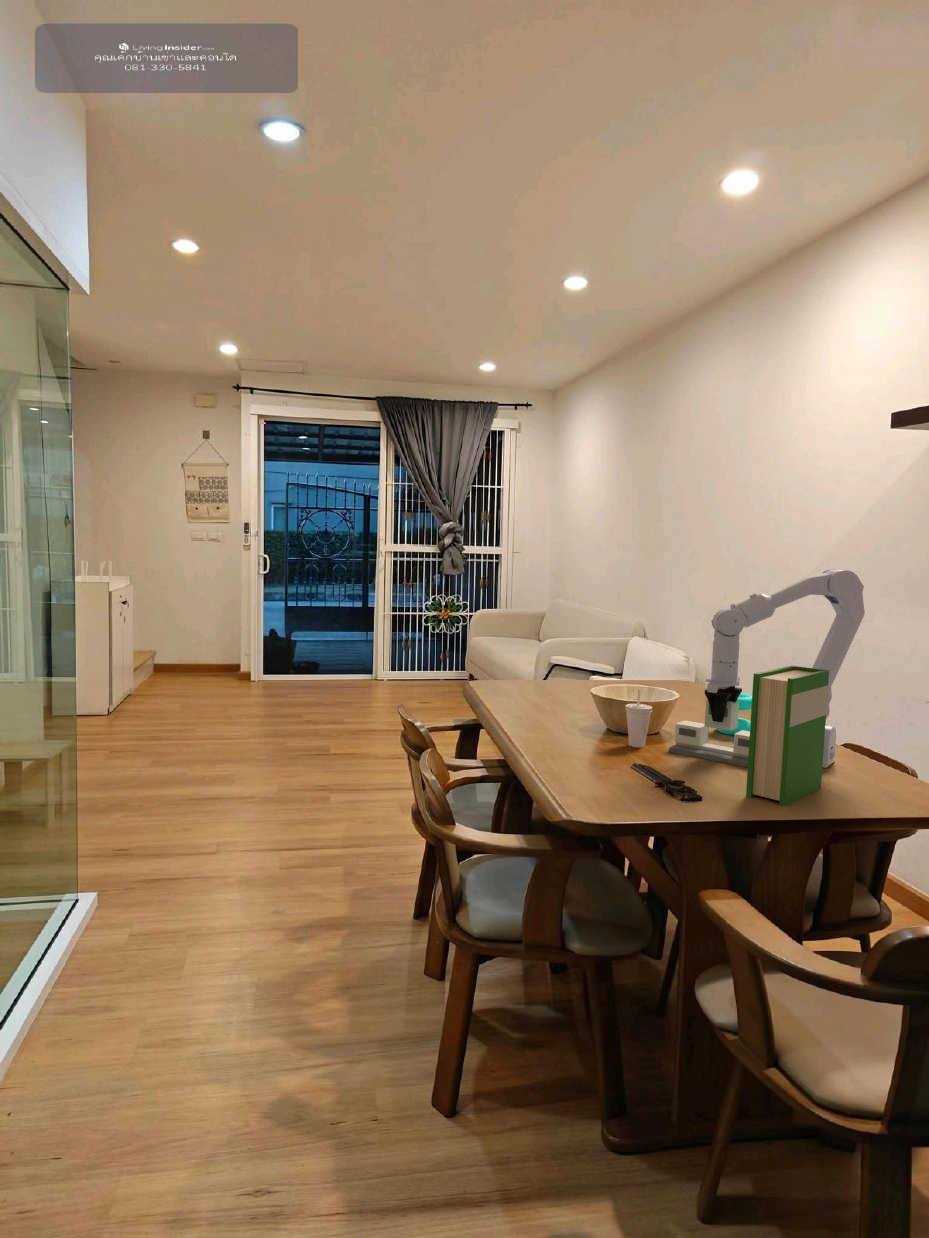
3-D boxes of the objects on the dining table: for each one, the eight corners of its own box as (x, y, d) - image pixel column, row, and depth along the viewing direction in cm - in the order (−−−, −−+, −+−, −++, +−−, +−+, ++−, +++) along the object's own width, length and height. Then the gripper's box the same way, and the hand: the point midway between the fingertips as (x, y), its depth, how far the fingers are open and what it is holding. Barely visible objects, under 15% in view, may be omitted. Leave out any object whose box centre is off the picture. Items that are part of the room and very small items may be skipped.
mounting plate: (771, 759, 174) (773, 732, 174) (754, 768, 166) (756, 740, 165) (688, 743, 187) (689, 718, 186) (668, 751, 178) (670, 725, 178)
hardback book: (784, 806, 141) (792, 679, 139) (745, 796, 146) (753, 673, 144) (820, 787, 153) (829, 670, 151) (784, 779, 159) (791, 665, 156)
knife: (626, 766, 167) (627, 760, 167) (654, 766, 168) (655, 759, 168) (673, 804, 142) (673, 796, 142) (706, 803, 143) (706, 796, 143)
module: (737, 728, 176) (739, 702, 175) (729, 730, 172) (731, 704, 172) (711, 723, 179) (713, 698, 179) (704, 726, 176) (705, 700, 175)
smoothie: (620, 746, 182) (622, 688, 181) (627, 740, 187) (630, 684, 186) (646, 750, 179) (649, 691, 178) (653, 744, 184) (656, 687, 183)
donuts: (765, 696, 198) (741, 700, 192) (763, 734, 199) (738, 738, 193) (733, 690, 206) (709, 693, 201) (731, 726, 207) (706, 730, 202)
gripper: (720, 656, 182) (716, 712, 184) (695, 662, 171) (692, 721, 172) (749, 660, 178) (746, 717, 179) (726, 666, 167) (722, 726, 168)
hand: (721, 719), depth 176 cm, fingers closed on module, 5 cm apart
